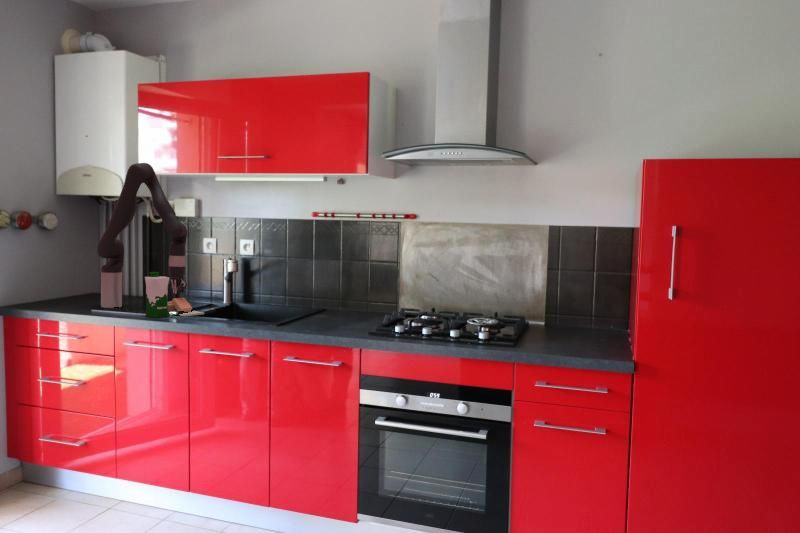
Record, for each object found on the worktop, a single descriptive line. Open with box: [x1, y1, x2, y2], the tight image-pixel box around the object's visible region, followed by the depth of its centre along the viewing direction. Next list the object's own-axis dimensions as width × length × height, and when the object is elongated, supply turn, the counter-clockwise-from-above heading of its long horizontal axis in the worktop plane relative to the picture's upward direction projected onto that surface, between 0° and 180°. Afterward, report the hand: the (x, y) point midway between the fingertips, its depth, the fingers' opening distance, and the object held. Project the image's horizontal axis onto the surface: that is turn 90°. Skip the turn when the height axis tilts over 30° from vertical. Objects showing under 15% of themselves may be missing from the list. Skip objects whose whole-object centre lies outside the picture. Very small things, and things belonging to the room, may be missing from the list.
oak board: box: [168, 300, 191, 313], centre depth 317 cm, size 12×12×4 cm
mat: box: [179, 310, 205, 317], centre depth 310 cm, size 11×12×1 cm
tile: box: [171, 297, 193, 312], centre depth 311 cm, size 8×6×2 cm
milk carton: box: [144, 271, 170, 319], centre depth 300 cm, size 9×9×20 cm
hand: (176, 301), depth 315 cm, fingers closed
